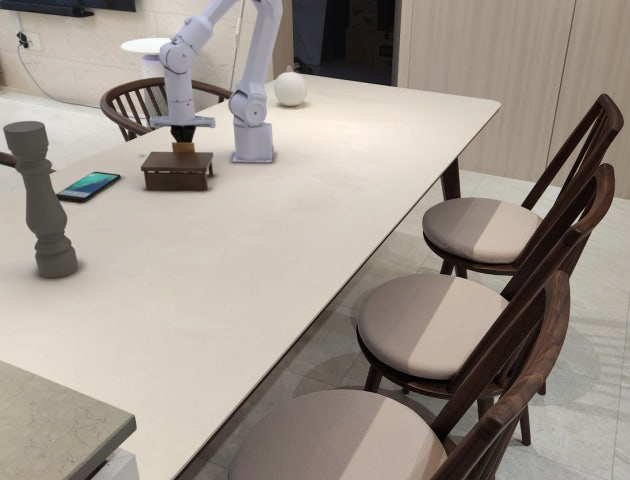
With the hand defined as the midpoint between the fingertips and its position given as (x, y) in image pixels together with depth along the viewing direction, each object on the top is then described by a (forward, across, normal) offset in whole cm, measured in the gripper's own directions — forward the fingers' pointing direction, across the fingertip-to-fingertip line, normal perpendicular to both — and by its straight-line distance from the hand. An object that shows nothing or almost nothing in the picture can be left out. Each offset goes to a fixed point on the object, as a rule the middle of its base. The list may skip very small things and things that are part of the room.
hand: (186, 156), depth 151 cm
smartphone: (+3, +19, +13) cm, 23 cm away
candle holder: (+3, +13, +49) cm, 51 cm away
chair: (+3, 0, +5) cm, 6 cm away
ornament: (+3, -22, -57) cm, 61 cm away
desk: (+3, 0, +9) cm, 10 cm away
